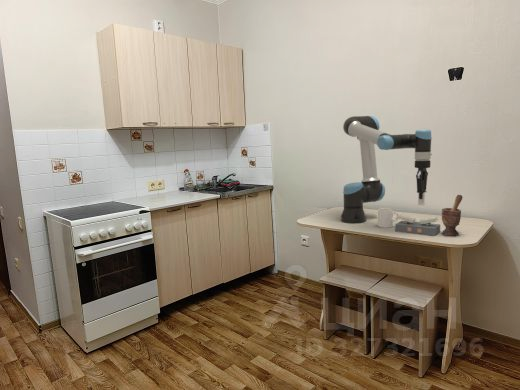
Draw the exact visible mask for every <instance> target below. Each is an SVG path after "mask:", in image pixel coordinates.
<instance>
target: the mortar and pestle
mask: <svg viewBox="0 0 520 390" xmlns="http://www.w3.org/2000/svg"><path fill="white" fill-rule="evenodd" d="M463 198H464V197H463V195H462V194H457V195H456V196H455V199H454V203H453V206H452V207H444V208H443V207H442V208H441V221H442V223H443V226H444V227H445V229H444V230H442V233H441V235H443V236H448V237H449V236H450V237H456V236H457V237H458V236H459V235H460V234H459V232H458V230H457V227H458V226H459V225H460V222H461V218H462V217H461V216H462V210H461V209H459V208H458V207H459V206H460V204H461V202H462V201H463Z"/></svg>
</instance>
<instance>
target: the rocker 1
mask: <svg viewBox="0 0 520 390" xmlns="http://www.w3.org/2000/svg"><path fill="white" fill-rule="evenodd" d="M398 219H399V220H400V221H407V222H411V223H414V222H416V221H417V219H416V217H411V216H407V215H404V214H399V218H398Z"/></svg>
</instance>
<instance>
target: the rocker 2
mask: <svg viewBox="0 0 520 390" xmlns="http://www.w3.org/2000/svg"><path fill="white" fill-rule="evenodd" d="M438 221H439V219H438V217H437V216H435V217H430V218H425V219H424V218H423V219H421V220H419V221H418V222H420V224H426V223H431V224H433V223H435V222H438Z"/></svg>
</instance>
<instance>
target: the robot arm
mask: <svg viewBox="0 0 520 390" xmlns="http://www.w3.org/2000/svg"><path fill="white" fill-rule="evenodd" d="M342 129H343V131H344V133H345V134H346V135H347V136H350V137H352V138H356V139H357V140H358V141H359V147H360V156H361V168H362V169H361V171H362V180H361V181H360V182H357V181H356V182H350V183H347V184H345V185H344V186H343V191H342V193H343V210H342V214H341V217H340V219H341V220H340V221H341V222H342V223H346V224H347V223H348V224H361V223H364V222H367V217H366V213H365V211H364V204H365V203H374V202H380V201H381V200H382V199H383V198H384V197H385V194H386V187H385V185H384V184H383V183H382V182H381V179H380V178H379V177H378V172H377V171H378V170H377V162H376V161H377V159H376V146H377V148H378V149H380V150H384V151H388V150H403V149H414V168H416V169H417V172H416V174H415V178H416V193H418V198H417V199H418V200H417V201H418V202H417V203H418V206H425V197H426V196H425V195H426V194H425V193H427V184H428V175H429V172H428V171H427V169H429V168H430V167H431V157H432V155H433V154H432V153H431V152H432V148H431V147H432V139H433V138H432V131H431V129H417V130H415V133H403V134H389V133H387V132H384V131H382V130H380V122H379V120H378V118H376V117H375V116H371V115H363V116H362V115H361V116H360V115H359V116H357V115H356V116H355V115H354V116H349V117H348V118H347V119H345V121H344V122H343V126H342ZM375 145H376V146H375Z"/></svg>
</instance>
